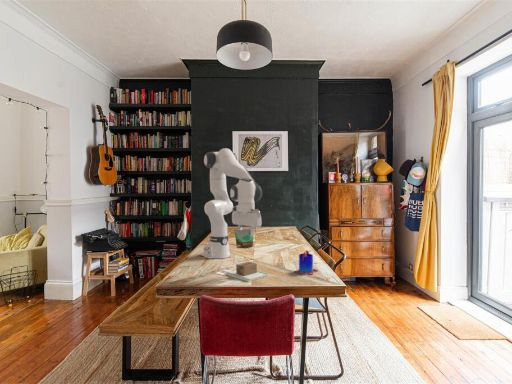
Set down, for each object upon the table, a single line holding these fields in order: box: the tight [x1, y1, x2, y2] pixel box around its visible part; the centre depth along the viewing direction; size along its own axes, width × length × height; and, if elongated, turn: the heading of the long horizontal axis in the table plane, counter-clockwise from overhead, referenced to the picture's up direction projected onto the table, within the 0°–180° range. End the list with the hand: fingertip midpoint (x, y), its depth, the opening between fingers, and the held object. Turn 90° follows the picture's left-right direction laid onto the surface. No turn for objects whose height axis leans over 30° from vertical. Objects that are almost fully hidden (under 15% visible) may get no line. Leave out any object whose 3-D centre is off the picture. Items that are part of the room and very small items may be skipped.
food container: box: [233, 228, 256, 249], centre depth 168 cm, size 12×6×10 cm, turn 122°
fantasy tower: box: [293, 250, 319, 276], centre depth 175 cm, size 12×12×12 cm
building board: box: [225, 269, 269, 283], centre depth 168 cm, size 18×14×2 cm
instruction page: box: [214, 269, 232, 276], centre depth 174 cm, size 6×9×1 cm, turn 144°
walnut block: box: [235, 261, 258, 276], centre depth 168 cm, size 6×9×5 cm
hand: (246, 234), depth 168 cm, fingers closed on food container, 6 cm apart
